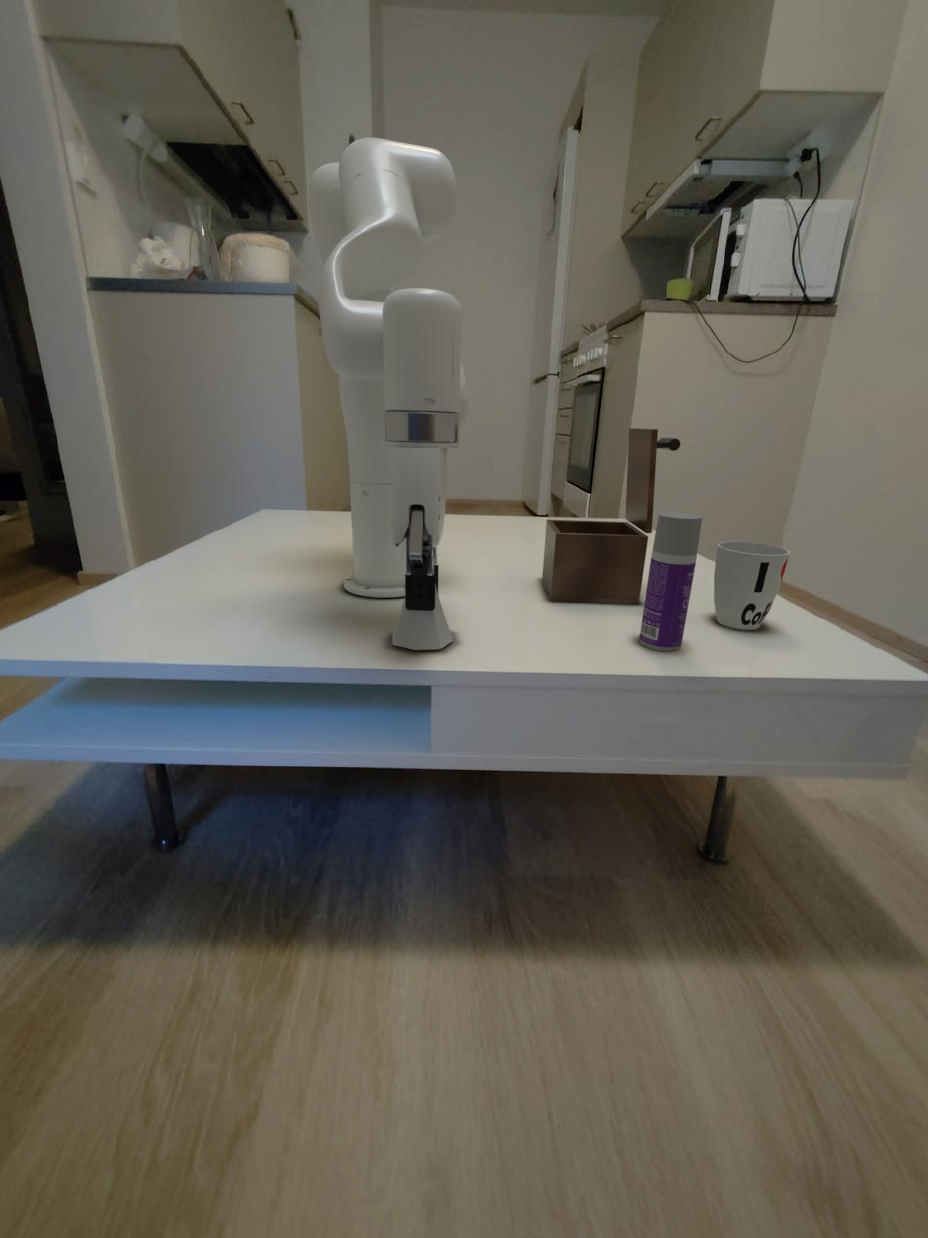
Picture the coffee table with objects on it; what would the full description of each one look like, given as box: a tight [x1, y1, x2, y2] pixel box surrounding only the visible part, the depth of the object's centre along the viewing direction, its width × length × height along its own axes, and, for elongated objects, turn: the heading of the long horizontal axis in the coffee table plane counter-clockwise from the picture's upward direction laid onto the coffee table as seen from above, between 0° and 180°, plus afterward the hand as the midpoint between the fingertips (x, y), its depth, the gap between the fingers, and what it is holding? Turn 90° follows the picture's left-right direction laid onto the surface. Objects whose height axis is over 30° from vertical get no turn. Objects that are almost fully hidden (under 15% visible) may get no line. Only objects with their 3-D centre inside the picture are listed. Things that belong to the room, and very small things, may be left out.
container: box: [638, 511, 703, 652], centre depth 61 cm, size 5×5×15 cm
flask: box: [391, 553, 454, 651], centre depth 61 cm, size 7×7×10 cm
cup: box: [713, 541, 791, 631], centre depth 70 cm, size 8×8×10 cm
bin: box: [541, 519, 649, 605], centre depth 82 cm, size 13×12×10 cm
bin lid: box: [624, 427, 681, 534], centre depth 77 cm, size 13×12×5 cm
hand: (422, 602), depth 62 cm, fingers closed on flask, 3 cm apart
